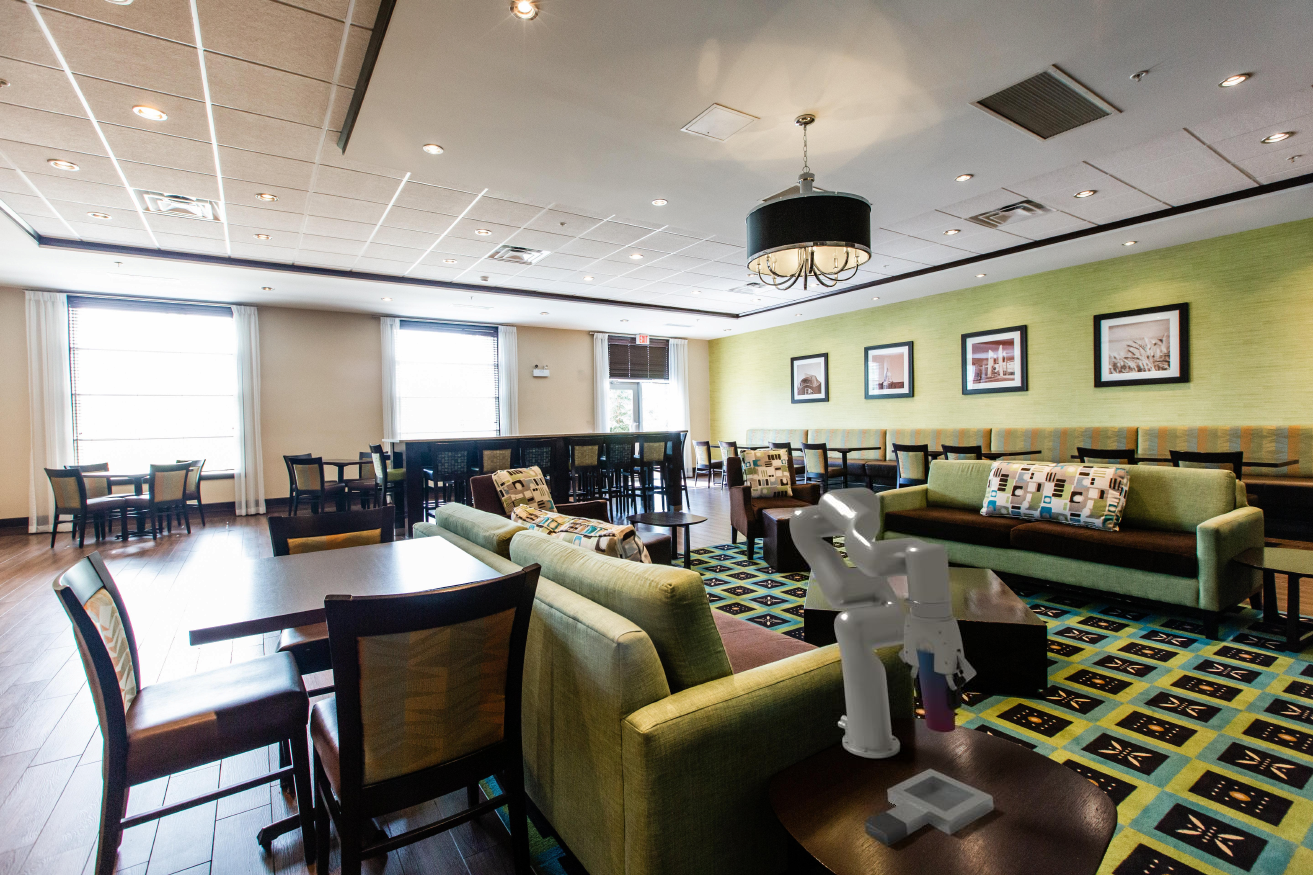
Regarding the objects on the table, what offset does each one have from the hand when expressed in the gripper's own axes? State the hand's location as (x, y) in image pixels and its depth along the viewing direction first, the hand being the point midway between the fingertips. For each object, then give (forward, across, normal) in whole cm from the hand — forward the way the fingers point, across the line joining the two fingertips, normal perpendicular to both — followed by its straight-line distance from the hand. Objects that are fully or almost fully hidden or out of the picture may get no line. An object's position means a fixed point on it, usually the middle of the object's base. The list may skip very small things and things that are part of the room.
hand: (938, 701), depth 114 cm
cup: (+5, 0, 0) cm, 5 cm away
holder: (+19, -1, -7) cm, 20 cm away
